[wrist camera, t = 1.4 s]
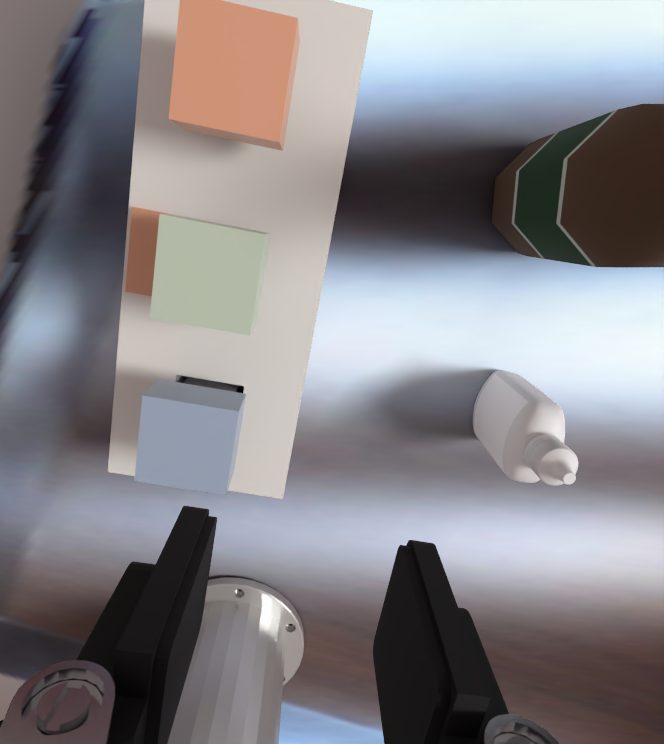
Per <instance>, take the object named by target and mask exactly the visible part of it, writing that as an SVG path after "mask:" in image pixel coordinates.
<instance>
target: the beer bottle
mask: <svg viewBox="0 0 664 744" xmlns="http://www.w3.org/2000/svg"><path fill="white" fill-rule="evenodd" d="M492 224H493V225H494V226H495V227H496V228H497V229H498V231H499V232H500V233H501V234H502V235H503V236H504V238H505V239H506V240H507V241H508V242H509V243H510V244H511V246H512V247H513V248H514V249H515V250H516V251H517V252H518V253H520V254H523V255H526V256H531V257H537V258H543V259H550V260H556V261H562V262H569V263H575V264H581V265H587V266H594V267H664V104H640V105H636V106H632V107H627V108H623V109H619V110H616V111H613V112H610V113H608V114H605V115H602V116H600V117H597V118H594V119H592V120H589V121H586V122H584V123H581V124H578V125H576V126H573V127H570V128H568V129H565V130H562V131H560V132H557V133H554V134H552V135H549V136H547V137H544V138H541V139H539V140H537V141H535V142H533V143H531V144H529V145H528V146H527V147H526V148H525V149H524V150H523V151H522V152H521V153H520V154H519V155H518V156H517V157H516V158H515V159H514V160H513V161H512V162H511V163H510V164H509V165H508V166H507V167H506V168H505V169H504V170H503V171H502V172H501V173H500V174H499V175H498V176H497V177H496V178H495V186H494V199H493V211H492Z"/></svg>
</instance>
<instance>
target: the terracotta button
mask: <svg viewBox="0 0 664 744" xmlns="http://www.w3.org/2000/svg"><path fill="white" fill-rule="evenodd" d="M299 45H300V35H299V24H298V18H296V17H292V16H287V15H283V14H279V13H274V12H270V11H266V10H261V9H257V8H253V7H248V6H244V5H240V4H235V3H231V2H227V1H222V0H180V3H179V14H178V24H177V35H176V45H175V56H174V67H173V77H172V88H171V98H170V109H169V120H171V121H172V122H174V123H175V124H177V125H178V126H179V127H181V128H182V129H184V130H186V131H191V132H196V133H201V134H205V135H210V136H215V137H220V138H225V139H229V140H234V141H239V142H244V143H248V144H253V145H258V146H263V147H268V148H272V149H277V150H282V151H283V149H284V143H285V136H286V129H287V123H288V116H289V110H290V103H291V97H292V90H293V84H294V77H295V71H296V64H297V58H298V51H299Z"/></svg>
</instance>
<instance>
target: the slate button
mask: <svg viewBox="0 0 664 744" xmlns="http://www.w3.org/2000/svg"><path fill="white" fill-rule="evenodd" d="M239 390H240V385H234V384H228V383H222V382H217V381H211V380H205V379H199V378H193V377H188V378H187V379H186V380H185V381H184V383H179V382H173V381H168V380H162V379H158V380H157V381H156V382H155V383H154V384H153V385H152V386H151V387H150V388H149V389H148V390H147V391H146V392H145V393H144V394H143V395H142V405H141V416H140V426H139V437H138V448H137V458H136V469H135V479H134V481H137V482H144V483H150V484H157V485H163V486H169V487H176V488H182V489H189V490H195V491H202V492H208V493H215V494H221V495H226V494H227V491H228V488H229V485H230V482H231V479H232V476H233V473H234V469H235V463H236V456H237V450H238V443H239V437H240V430H241V423H242V417H243V410H244V404H245V397H246V394H244V393H239Z"/></svg>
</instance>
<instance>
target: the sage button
mask: <svg viewBox="0 0 664 744" xmlns="http://www.w3.org/2000/svg"><path fill="white" fill-rule="evenodd" d="M270 234H271V233H266V232H261V231H256V230H251V229H246V228H240V227H235V226H230V225H225V224H220V223H215V222H210V221H205V220H200V219H195V218H189V217H184V216H179V215H170V214H160V215H159V225H158V236H157V246H156V257H155V268H154V278H153V289H152V299H151V310H150V318H155V319H160V320H166V321H171V322H177V323H182V324H188V325H194V326H199V327H205V328H210V329H216V330H221V331H227V332H233V333H238V334H244V335H249V336H250V335H251V333H252V332H253V330H254V328H255V327H256V325H257V319H258V312H259V306H260V299H261V293H262V286H263V280H264V273H265V267H266V260H267V254H268V247H269V241H270Z"/></svg>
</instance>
